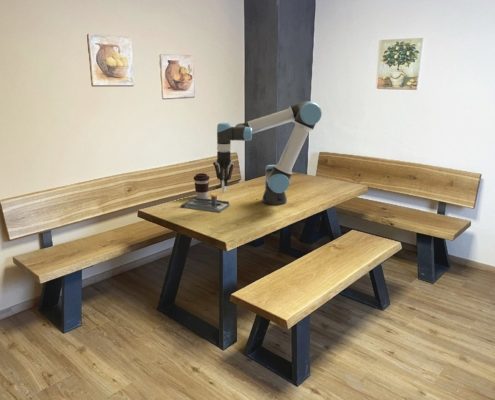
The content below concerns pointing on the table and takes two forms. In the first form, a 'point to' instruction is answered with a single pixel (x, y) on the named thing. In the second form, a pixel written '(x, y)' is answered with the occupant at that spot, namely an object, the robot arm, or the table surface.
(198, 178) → the coffee cup
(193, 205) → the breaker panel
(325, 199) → the table surface
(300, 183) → the table surface
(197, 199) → the long dark grey rail
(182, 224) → the table surface
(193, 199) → the grey panel edge rail
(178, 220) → the table surface
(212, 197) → the lever
